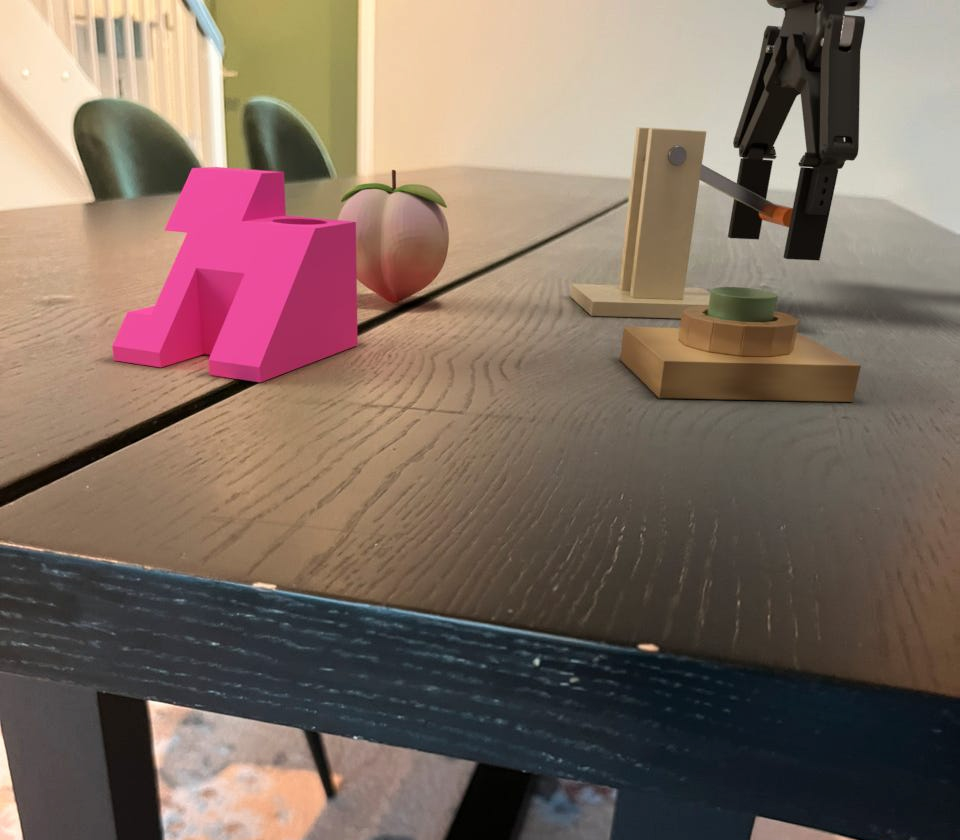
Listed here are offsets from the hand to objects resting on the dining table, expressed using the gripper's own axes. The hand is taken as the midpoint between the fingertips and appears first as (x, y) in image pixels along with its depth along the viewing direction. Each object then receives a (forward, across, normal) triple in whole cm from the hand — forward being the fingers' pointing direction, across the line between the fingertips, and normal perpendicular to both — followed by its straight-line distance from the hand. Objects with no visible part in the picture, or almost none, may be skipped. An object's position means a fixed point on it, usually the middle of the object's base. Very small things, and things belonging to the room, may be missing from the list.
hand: (770, 248), depth 83 cm
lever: (-4, 0, -6) cm, 7 cm away
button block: (+5, +26, -11) cm, 28 cm away
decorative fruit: (+6, +1, -32) cm, 33 cm away
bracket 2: (+5, 0, -10) cm, 11 cm away
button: (+2, +25, -11) cm, 28 cm away
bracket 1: (+6, +21, -42) cm, 48 cm away
